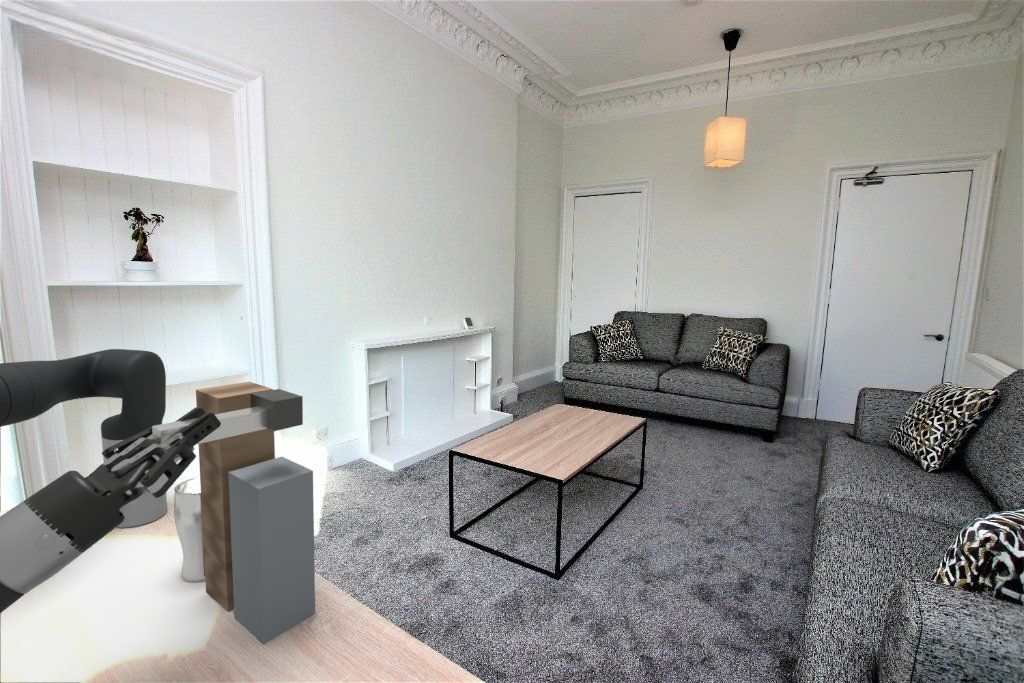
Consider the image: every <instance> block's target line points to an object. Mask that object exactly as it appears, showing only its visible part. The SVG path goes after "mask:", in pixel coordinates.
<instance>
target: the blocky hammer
mask: <svg viewBox="0 0 1024 683" xmlns="http://www.w3.org/2000/svg"><path fill="white" fill-rule="evenodd" d="M303 408H304V406H303V395H299V394H296V393H293V392H290V391H286V390H283V389H281V388H277V389H273V390H269V391H263V392H257V393H251V408H247V409H242V410H236V411H231V412H226V413H220V414H215V416H216V417H217V418H218V420H219V421H220V422H221V425H220V427H219V428H217V429H216V430H215V431H213V432H212V433H211V434H209V435H208V436H207V437H205V438H204V439H203V440H201V441H200V442H199V443H197V444H196V445H199V444H201V443H205V442H209V441H214V440H218V439H223V438H227V437H232V436H236V435H240V434H245V433H249V432H254V431H258V430H263V429H267V428H268V429H270V430H272V431H274V432H277V431H280V430H286V429H290V428H295V427H299V426H303V425H304V418H303V416H304V414H303V413H304V412H303V410H304V409H303ZM196 419H198V418H194V419H189V420H183V421H177V420H176V421H177V422H175V421H172V422H169V423H167V422H166V423H162V424H161V425H155V426H152V432H153V444H162V443H163V442H165V441H166V440H168V439H169V438H171V437H172V436H174V435H176V434H177V433H181V432H180V431H181V430H183V429H184V428H186V427H187V426H188V425H189V424H191V423H192V422H194V421H195V420H196ZM170 448H171V447H170ZM170 448H169V449H170ZM169 449H167V450H166V451H168V450H169Z"/></svg>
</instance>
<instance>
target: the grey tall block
mask: <svg viewBox="0 0 1024 683" xmlns="http://www.w3.org/2000/svg"><path fill="white" fill-rule="evenodd" d="M228 474H229V498H230V522H231V546H232V570H233V594H234V609H233V613H234V614H233V615H234V619H235V620H236V621H237V622H238V623H239V624H240V625H242V626H243V627H244V628H245V629H246V630H247V631H248V632H249V633H250V634H251V635H253V637H255V638H256V639H257V640H258V641H259V642H260V643H261V644H263V645H265V644H267V643H269V642H270V641H272V640H273V639H275V638H277V637H278V636H280V635H282V634H283V633H285V632H286V631H288V630H290V629H291V628H293V627H295V626H296V625H298V624H300V623H302V622H303V621H305V620H306V619H309V618H310V617H311V616H313V615H315V614H316V591H315V590H316V589H315V588H316V586H315V585H316V583H315V582H316V581H315V580H316V577H315V572H316V570H315V525H314V524H315V521H314V520H315V519H314V518H315V517H314V514H315V512H314V470H312V469H310V468H308V467H305V466H304V465H302V464H299V463H297V462H294V461H292V460H291V459H288V458H286V457H284V456H278V457H275V459H271V460H268V461H265V462H261V463H258V464H255V465H251V466H248V467H244V468H241V469H238V470H234V471H231V472H228Z"/></svg>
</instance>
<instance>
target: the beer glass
mask: <svg viewBox="0 0 1024 683" xmlns="http://www.w3.org/2000/svg"><path fill="white" fill-rule="evenodd" d="M173 489H174V498H173V508H174V509H173V513H174V514H173V516H174V523H175V528H176V532H177V535H178V539H179V542H180V546H181V550H182V559H183V560H182V567H181V573H180V577H181V578H182V580H184V581H185V582H190V583H198V582H202V581H204V582H205V563H204V543H203V524H202V504H201V484H200V476H196V477H192V478H188V479H186V480H183V481H181V482H180V483H178V484H176V486H175V487H174V488H173Z"/></svg>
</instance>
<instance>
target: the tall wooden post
mask: <svg viewBox="0 0 1024 683" xmlns="http://www.w3.org/2000/svg"><path fill="white" fill-rule="evenodd" d="M269 390H274V388H271V387H268V386H265V385H261V384H259V383H256V382H252V381H243V382H237V383H236V382H235V383H231V384H225V385H224V384H223V385H217V386H212V387H211V386H210V387H204V388H200V389H199V388H198V389H195V399H196V402H195V403H196V404H195V405H196V407H199V408H202V409H203V410H204V411H205V413H206V412H211V413H213V414H220V413H226V412H231V411H236V410H242V409H247V408H251V393H257V392H263V391H269ZM275 451H276V449H275V431H272V430H270V429H268V428H267V429H263V430H258V431H254V432H249V433H245V434H240V435H236V436H232V437H227V438H223V439H218V440H214V441H209V442H205V443H201V444H198V460H199V461H198V464H199V477H200V484H201V504H202V524H203V543H204V563H205V580H204V582H205V593H206V594H208V595H209V596H210V598H211V599H213V600H214V601H215V602H216V603H218V605H220V606H221V607H222V608H223V609H224V610H225V611H226V612H229V613H230V611H232V610H234V594H233V570H232V546H231V522H230V498H229V474H228V472H231V471H234V470H238V469H241V468H244V467H248V466H251V465H255V464H258V463H261V462H265V461H268V460H271V459H275V458H276V452H275Z"/></svg>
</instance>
